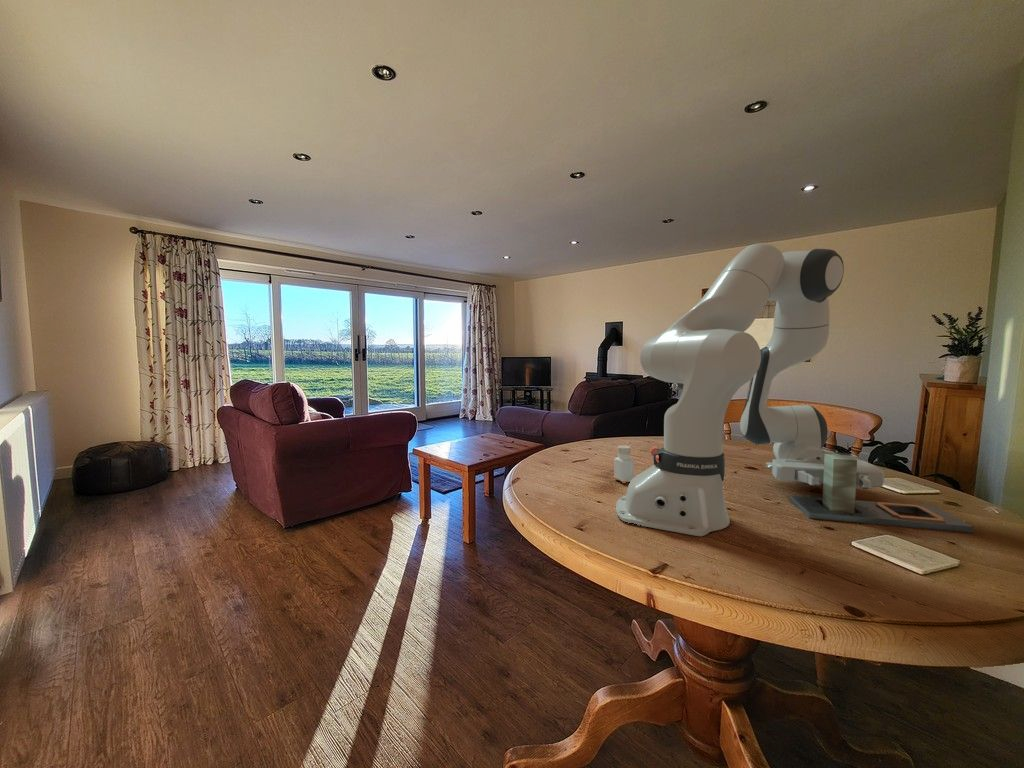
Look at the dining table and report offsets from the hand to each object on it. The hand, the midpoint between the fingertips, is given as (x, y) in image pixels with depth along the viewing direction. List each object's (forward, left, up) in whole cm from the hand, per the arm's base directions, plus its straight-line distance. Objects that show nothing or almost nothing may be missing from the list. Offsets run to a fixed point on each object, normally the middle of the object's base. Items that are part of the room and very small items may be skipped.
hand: (841, 483), depth 82 cm
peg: (0, +1, -7) cm, 7 cm away
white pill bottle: (-44, +11, -7) cm, 46 cm away
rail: (+6, +1, -7) cm, 9 cm away
